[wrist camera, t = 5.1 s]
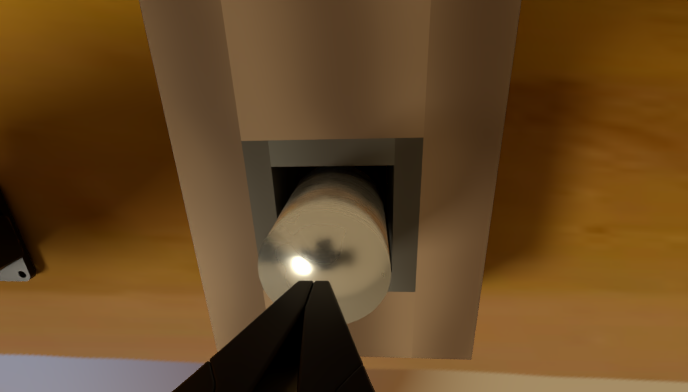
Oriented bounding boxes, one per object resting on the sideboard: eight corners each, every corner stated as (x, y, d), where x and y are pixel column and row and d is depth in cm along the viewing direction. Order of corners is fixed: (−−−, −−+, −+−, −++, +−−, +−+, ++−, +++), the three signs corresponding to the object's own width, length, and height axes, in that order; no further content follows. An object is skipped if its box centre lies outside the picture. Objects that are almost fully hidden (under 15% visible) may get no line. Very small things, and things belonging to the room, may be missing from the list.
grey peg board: (250, 288, 21) (217, 352, 16) (148, -345, 11) (0, -623, 7) (447, 291, 20) (471, 359, 15) (512, -393, 11) (626, -750, 6)
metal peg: (295, 249, 15) (266, 324, 11) (287, 164, 14) (249, 212, 9) (383, 249, 15) (389, 327, 11) (384, 163, 14) (392, 212, 9)
